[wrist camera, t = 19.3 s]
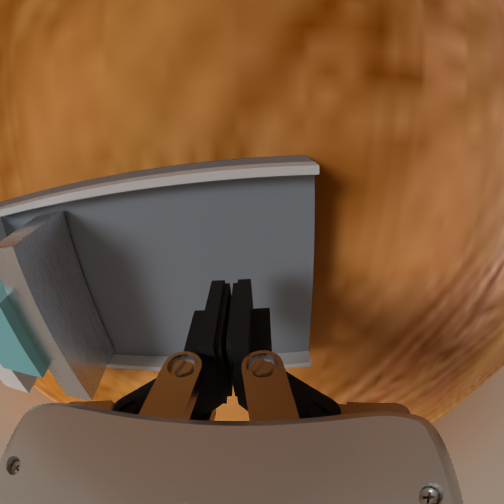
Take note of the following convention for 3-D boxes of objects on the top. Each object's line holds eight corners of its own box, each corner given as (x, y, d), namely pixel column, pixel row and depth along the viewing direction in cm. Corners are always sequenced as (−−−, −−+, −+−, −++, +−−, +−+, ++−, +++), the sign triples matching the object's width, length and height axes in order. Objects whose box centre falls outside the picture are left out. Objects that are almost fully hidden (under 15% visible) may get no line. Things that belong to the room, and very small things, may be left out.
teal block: (52, 252, 15) (-1, 304, 10) (78, 319, 17) (42, 377, 12) (13, 256, 15) (-36, 301, 10) (39, 316, 17) (2, 367, 12)
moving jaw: (63, 210, 13) (12, 246, 9) (114, 350, 18) (92, 400, 14) (38, 214, 13) (-11, 249, 9) (91, 348, 18) (67, 395, 14)
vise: (306, 155, 14) (349, 189, 8) (304, 334, 20) (321, 418, 14) (-7, 204, 15) (-70, 245, 9) (44, 333, 20) (8, 389, 14)
